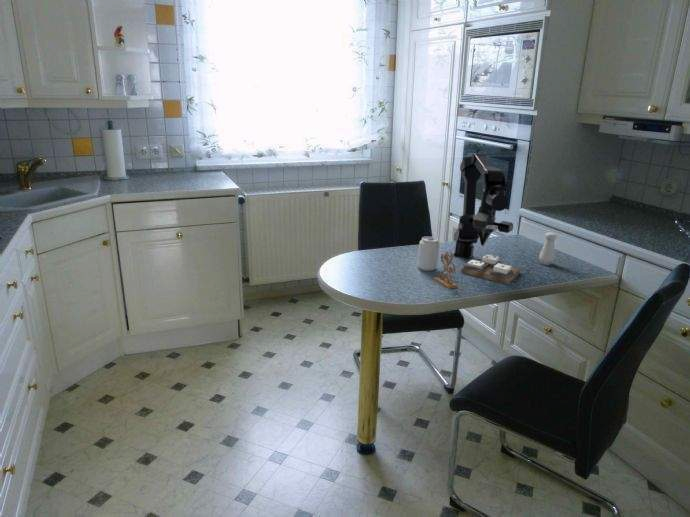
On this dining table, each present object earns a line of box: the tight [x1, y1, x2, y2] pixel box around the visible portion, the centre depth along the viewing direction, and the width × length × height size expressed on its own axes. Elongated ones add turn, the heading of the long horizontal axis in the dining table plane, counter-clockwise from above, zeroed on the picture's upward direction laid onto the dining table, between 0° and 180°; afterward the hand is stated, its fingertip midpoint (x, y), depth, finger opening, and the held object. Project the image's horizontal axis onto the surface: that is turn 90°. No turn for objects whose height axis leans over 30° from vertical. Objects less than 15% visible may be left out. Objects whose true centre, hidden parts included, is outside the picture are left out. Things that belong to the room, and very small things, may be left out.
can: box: [416, 236, 441, 272], centre depth 194 cm, size 8×8×12 cm
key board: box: [460, 257, 521, 285], centre depth 195 cm, size 18×15×3 cm
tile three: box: [466, 259, 485, 268], centre depth 194 cm, size 5×5×2 cm
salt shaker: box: [538, 231, 557, 266], centre depth 208 cm, size 6×6×13 cm
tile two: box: [481, 253, 500, 264], centre depth 198 cm, size 5×5×2 cm
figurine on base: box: [433, 251, 458, 290], centre depth 180 cm, size 9×4×12 cm, turn 27°
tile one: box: [493, 263, 512, 274], centre depth 189 cm, size 5×5×2 cm
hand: (482, 245), depth 191 cm, fingers closed
